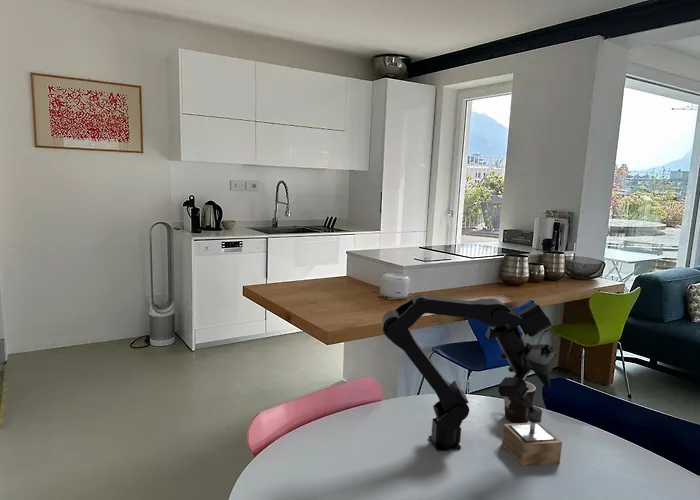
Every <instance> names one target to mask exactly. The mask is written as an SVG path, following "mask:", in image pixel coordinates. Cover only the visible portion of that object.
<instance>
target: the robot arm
mask: <svg viewBox="0 0 700 500" xmlns="http://www.w3.org/2000/svg"><path fill="white" fill-rule="evenodd" d="M425 314H429V315H440V316H446V317H448V316H449V317H457V318H463V319H464V318H465V319H466V318H467V319H472V320H474V321H477V322H480V323H482V324H485V325H487V330H486V332H485V333H484V335H485V336H486V338H487V339H488V340H490V341H491V340H493V339H495V340H496V341H497V343H498V345H499V347H500V349H501V350H502V353H501V354H500V356H501V359H506V360H507V362H508V364H509V367H508V368H507V370H508V372H510V373H514V374H515V375H513V376H512V377H511V376H508V377H507V376H506V377H504V378H503V379H502V381H501V382H500V383H499V384H498V385H497V388H496V390H497V391H498V392H497V393H499V395H500V397H504V396H506V397H513V398H514V399H516V400H517V401H519V402H520V403H521V404H523V405H524V406H525V407H527V408H528V409H530V410H533V409H534V407H533V406H534V405H533V402H531V400H530V398H529V396H528V394H527V392H528V390H529V388H526V386H527V384H526V382H527V381H526V380H525V379H526V377H527V376H528V375H529V374H530V373H531V371H532V372H534V374H535V375H536V376H537V378H538V379H539V380H540V383H542V384H543V385H544V386H545V388H550V387H551V384H550V383H551V382H550V381H551V380H550V374H551V372H552V370H553V369H554V368H555V367H556V358H557V357H558V354H557V353H556V350H555V348H554V347H553V345H552V344H550V343H547V342H546V343H542V344H541V343H540V344H530V343H529V342H525V340H524V339H523V336H524V337H525V336H528V337H529V338H533V337H535V336H537V335H538V334H540V333H543V332H544V331H547V330H548V329H551V328H552V327H553V326H552V322H551V321H550V319H549V317H548V316H547V315H546V313H545V312H544V311H543V309H542V308H541V306H540V305H539V304H538V303H536V302H535V303H533V304H531V305H530V306H528V307H527V308H525V309H522V310H520V311H519V312H516V311H515V310H513V309H511V308H509V307H508V306H507V305H506V304H505V303H503V302H502V301H501V300H500V299H498V298H493V297H492V298H479V299H475V300H466V299H457V298H450V297H449V298H447V297H437V296H431V295H429V296H428V295H424V294H422V293H421V294H416V295H415V296H413V298H411V299H409V300H408V301H406V302H404V303H402V304H401V305H399V306H397V308H395V309H393V310H389V311H387V312H386V313H384V314H383V315H382V319H381V325H382V331H383V333H384V336H386V338H387V339H388V340H390V341H391V342H392V343H393V344H394V345H395V346H397V347H398V348H399V349H400V350H402V351H403V352H404V353H405V354H406V355H407V357H408V359H409V360H411V362H412V363H413V365H414V366H415V368H416V369H417V370H418V371H419V372H420V374H421V376H423V378H424V379H425V380H426V382H427V383H428V384H429V386H430V387H431V388H432V389H433V392H434V393H435V394H436V396H437V397H438V401H437V402H436V403H434V404H433V405H432V407H433V411H434V413H435V416H436V417H435V418H434V417H433V418H432V420H431V421H432V423H431V435H429V436H428V439H429V441H430V442H431V443H432V445H433V447H434V448H435V449H436V451H438V452H440V451H450V450H451V451H452V450H454V451H455V450H461V449H462V446H461V445H460V443H461V439H462V438H461V435H462V427H461V425H462V423H463V421H464V420H465V419H466V418H467V417H468V415H469V414H470V408H469V405H468V404H469V400H468V398H467V396H466V393H465V391H464V390H462V389H461V388H460V387H459V385H458V384H457V381H456V380H453V381H452V382H451V383H450V381H448V380H447V379H446V378H445V377H444V375H443V374H441V372H440V370H439V369H438V368H437V366H436V365H435V364H434V363H433V362H432V360H431V359H430V358H429V356H428V355H427V353H426V352H425V351H424V349H423V348H422V347H421V345H420V344H419V343H418V342H417V341H416V339H415V338H414V336H413V333H412V331H411V329H410V328H411V327H413V325H414V324H415V323H417V321H418V320H419V319H420V318H421V317H422V316H423V315H425ZM519 330H520V331H519ZM521 333H522V335H523V336H522V335H521ZM525 381H526V382H525Z"/></svg>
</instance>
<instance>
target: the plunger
mask: <svg viewBox="0 0 700 500" xmlns="http://www.w3.org/2000/svg"><path fill="white" fill-rule="evenodd" d="M533 407H534V409H533V410H530V409H528V408H527V411H526V419H527V420H528V422H529V423H530V425H514V426H511V429H512V430H514V431H515V432H516V433H517V434H518V435H519V436H520V437H521V438H522V439H523V440H524V441H525V442H526V443H530V442H544V441H554V438H553V437H552V436H550V435H549V434H548V433H547V432H546V431H545V430H543V429H542V428H541V427H540V426H539V425H538V424H536V423H540V424H541V423H542V416H543V409H542V408H540V407H537V406H534V405H533Z"/></svg>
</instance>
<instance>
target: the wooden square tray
mask: <svg viewBox="0 0 700 500" xmlns="http://www.w3.org/2000/svg"><path fill="white" fill-rule="evenodd" d="M530 423H531V422H527V423H504V424H503V428H502V429H503V430H502V439H501V445H502V446H503V447H504V449H506V451H508V452H509V453H510V455H512V457H513V458H514V459H515V460H516V461H517V462H518V463H519V464H520V466H522V467H527V466H529V467H530V466H541V465H543V466H544V465H553V464H554V465H555V464H560V463H561V455H562V448H563V446H562V445H563V441H561V439H559V438H558V437H557V436H556V435H554V434H553V433H552V432H551V431H550V430H549V429H547V428H546V426H544V425H543V424H541V422H540V423H536V424H538V425H539V426H540V427H541V428H542V429H543V430H545V431H546V432H547V433H548V434H549V435H550V436H552V437H553V438H554V441H544V442H530V443H526V442H525V441H524V440H523V439H522V438H521V437H520V436H519V435H518V434H517V433H516V432H515V431H514V430H512V429H511V426H514V425H530Z"/></svg>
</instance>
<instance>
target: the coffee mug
mask: <svg viewBox="0 0 700 500" xmlns="http://www.w3.org/2000/svg"><path fill="white" fill-rule="evenodd" d="M525 382H526V384H527V386H526V388H529V390H528V392H527V394H528V396H529V398H530V400H531V402H532V403H533V401H534V397H535V394H536V393H535V392H536V390H537V389H536V388H537V387H536V386H535V385H534V384H533V383H530V382H528V381H526V380H525ZM503 399H504V401H503V402H504V417H505V419H506V420H507V421H509V422H510V423H512V424H515V423H529V421H528V420H527V419H526V411H527V407H525V406H524V405H523V404H521V403H520V402H519V401H517V400H516V399H514V398H513V397H506V396H503Z"/></svg>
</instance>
